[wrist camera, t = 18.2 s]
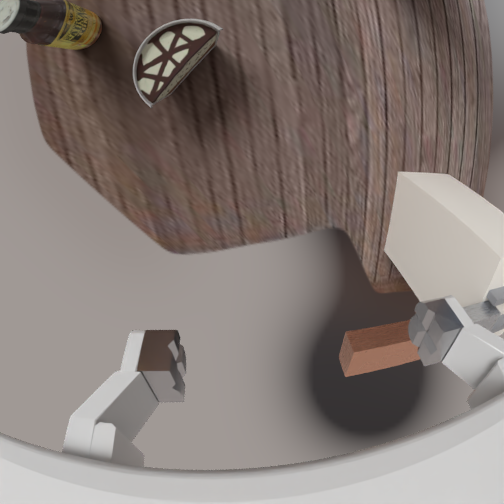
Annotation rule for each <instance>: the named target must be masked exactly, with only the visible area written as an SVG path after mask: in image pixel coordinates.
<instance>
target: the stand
mask: <svg viewBox="0 0 504 504" xmlns="http://www.w3.org/2000/svg"><path fill="white" fill-rule="evenodd" d="M384 251H385V252H386V254H387V255H388V256H389V258H390V259H391V261H392V262H393V263H394V265H395V266H396V267H397V269H398V270H399V272H400V273H401V274H402V276H403V277H404V279H405V280H406V282H407V283H408V284H409V286H410V287H411V289H412V290H413V292H414V293H415V295H416V296H417V297H418V299H419V301H420V302H421V301H426V300H431V299H435V298H441V297H445V296H450V295H452V296H453V297H455V298H456V300H457V301H458V302H459V304H460V305H461V306H462V307H466V306H470V305H473V304H477V303H480V302H484V301H487V300H489V301H490V302H491V304H492V305H493V306H496V308H497V309H498V310H499V311H500V313H501V314H500V316H499V318H498V319H497V321H496V323H495V324H494V326H493V328H492V329H491V331H490V332H492V333H494V334H496V335H497V336H500V335H502V334H503V332H504V213H503V212H501V211H500V210H499V209H498V208H496V207H495V206H494V205H492V204H491V203H490V202H488V201H487V200H485V199H484V198H483V197H481V196H480V195H479V194H477V193H476V192H474V191H473V190H471V189H470V188H468V187H467V186H466V185H464V184H463V183H461V182H460V181H458V180H457V179H455V178H453V177H452V176H450V175H449V174H438V173H419V172H398V176H397V183H396V190H395V196H394V202H393V208H392V214H391V219H390V224H389V229H388V234H387V239H386V244H385V249H384Z"/></svg>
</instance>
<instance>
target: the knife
mask: <svg viewBox="0 0 504 504" xmlns="http://www.w3.org/2000/svg"><path fill="white" fill-rule="evenodd" d="M462 308H463V309H464V311H465V312H466V313H467V315H468V316H469V317H470V319H471V320H472V322H473V323H474V324H479V325H480V326H482V327H484V328H485V329H487V330H489V331H491V329H492V328H493V326H494V324H495V323H496V321H497V319H498V318H499V316H500V314H501V313H500V311H499V310H498V309H497V308H496V306H493V305H492V304H491V302H490V301H489V300H487V301H484V302H480V303H477V304H473V305H470V306H466V307H462ZM409 322H410V320H407V321H402V322H397V323H392V324H387V325H382V326H377V327H371V328H366V329H360V330H354V331H348V332H346V333H345V337H344V341H343V344H342V348H341V351H340V355H339V359H340V362H341V365H342V368H343V371H344V374H345V377H348V376H353V375H358V374H362V373H367V372H372V371H376V370H380V369H385V368H389V367H393V366H397V365H401V364H404V363H408V362H412V361H415V360H419V359H420V357H419V355H418V353H417V351H418V347H417V346H416V345H414V344H412V342H411V340H410V337H409V334H408V325H409Z"/></svg>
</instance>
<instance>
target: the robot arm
mask: <svg viewBox="0 0 504 504" xmlns="http://www.w3.org/2000/svg"><path fill="white" fill-rule="evenodd" d="M415 313H416V314H415V315H414V316H413V317H412V318H411V320H410V322H409V325H408V334H409V337H410V340H411V342H412V344H414V345H416V346H417V347H418V351H417V353H418V355H419V357H420V359H421V361H422V363H423V364H424V366H427V365H431V364H434V363H438V362H441V361H442V363H443V364H444V365H445V366H447V367H448V368H449V369H451V371H453V372H454V373H455V374H456V375H458V376H459V377H460V378H461V379H462V380H464V381H465V382H466V383H467V384H468V385H469V386H471V387H472V388H473V389H474V391H473V392H472V393H471V395H470V396H469V397H468V399H467V401H468V404H469V406H470V408H471V410H469V411H467V412H465V413H462V414H460V415H458V416H456V417H454V418H451V419H449V420H447V421H445V422H442V423H440V424H438V425H435V426H432V427H430V428H427V429H425V430H422V431H420V432H417V433H414V434H411V435H409V436H406V437H403V438H400V439H397V440H394V441H391V442H387V443H384V444H381V445H377V446H374V447H370V448H367V449H363V450H360V451H355V452H351V453H347V454H343V455H338V456H333V457H329V458H324V459H319V460H313V461H308V462H301V463H294V464H287V465H279V466H270V467H260V468H249V469H229V470H180V469H163V468H150V467H144V455H143V453H142V452H141V451H140V450H139V449H138V448H136V447H135V446H134V445H133V444H132V443H131V442H132V441H133V439H134V438H135V437H136V435H137V434H138V432H139V431H140V429H141V428H142V427H143V425H144V424H145V422H146V421H147V420H148V419H149V417H150V416H151V414H152V413H153V412H154V410H155V409H156V407H157V406H158V405H159V403H158V402H184V394H185V383H184V381H183V378H182V377H183V376H184V375H185V374H186V356H185V351H184V347H183V346H182V345H180V335H179V332H178V330H132V331H131V333H130V334H129V337H128V341H127V345H126V349H125V353H124V357H123V361H122V365H121V369H120V371H115V372H114V373H113V374H112V375H111V376H110V377H109V378H108V379H107V380H106V381H105V382H104V383H103V384H102V385H101V386H100V387H99V388H98V389H97V390H96V391H95V392H94V393H93V394H92V395H91V396H90V397H89V398H88V399H87V400H86V401H85V402H84V403H83V404H82V405H81V406H80V407H79V408H78V409H77V410H76V411H75V412H74V413H73V414H72V415H71V416H70V420H69V424H68V428H67V433H66V437H65V441H64V446H63V451H62V452H58V451H54V450H51V449H47V448H44V447H41V446H37V445H34V444H31V443H27V442H25V441H22V440H19V439H16V438H13V437H10V436H8V435H5V434H3V433H0V504H504V339H502V338H500V337H499V336H497V335H496V334H494V333H492V332H490V331H489V330H487V329H485V328H484V327H482V326H480V325H479V324H474V323H473V322H472V320H471V319H470V317H469V316H468V315H467V313H466V312H465V311H464V309H463V308H462V306H461V305H460V304H459V302H458V301H457V300H456V298H455V297H453V296H452V295H450V296H445V297H441V298H435V299H431V300H426V301H421V302H419V303H418V304H417V305H416V307H415Z"/></svg>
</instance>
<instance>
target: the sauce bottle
mask: <svg viewBox="0 0 504 504" xmlns="http://www.w3.org/2000/svg"><path fill="white" fill-rule="evenodd" d="M101 30H102V24H101V20H100V18H99V16H97V15H96V14H95V13H93V12H91V11H89V10H87V9H84V8H82V7H80V6H77V5H75V4H73V3H70V2H68V1H65V0H36V1H34V0H2V1H1V2H0V33H3V34H5V33H8V32H16V33H19V34H20V36H21V38H22V39H23V40H24V41H26V42H28V43H31V44H38V45H41V46H51V47H58V48H66V49H73V50H77V49H85V48H87V47H89V46H91V45H92V44H93V43H95V41H96V40H97V39H98V37H99V35H100V33H101Z"/></svg>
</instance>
